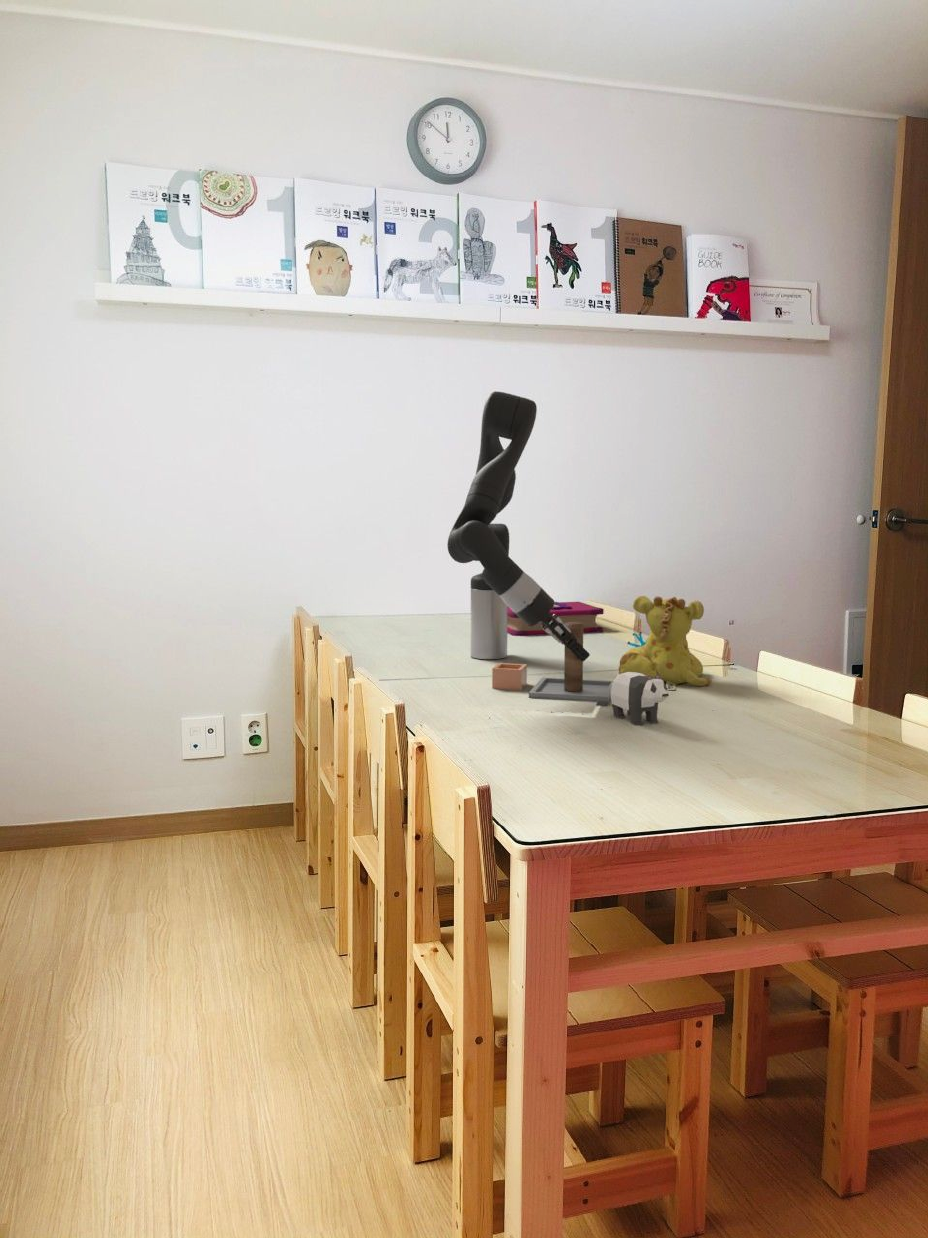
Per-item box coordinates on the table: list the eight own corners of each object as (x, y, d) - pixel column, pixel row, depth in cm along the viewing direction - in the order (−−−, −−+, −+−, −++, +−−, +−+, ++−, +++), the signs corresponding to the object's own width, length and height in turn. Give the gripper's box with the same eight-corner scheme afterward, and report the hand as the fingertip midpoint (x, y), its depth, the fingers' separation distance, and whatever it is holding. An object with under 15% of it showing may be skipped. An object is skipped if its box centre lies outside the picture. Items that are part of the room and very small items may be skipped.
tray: (542, 685, 220) (542, 677, 220) (616, 689, 216) (616, 681, 216) (528, 701, 205) (528, 692, 205) (608, 705, 201) (608, 696, 201)
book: (490, 627, 307) (490, 602, 306) (576, 623, 315) (577, 598, 313) (513, 637, 287) (513, 611, 286) (604, 633, 295) (605, 607, 293)
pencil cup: (498, 685, 220) (498, 663, 219) (526, 687, 218) (526, 664, 217) (492, 691, 214) (492, 668, 213) (521, 693, 212) (521, 669, 212)
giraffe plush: (694, 669, 239) (696, 588, 236) (725, 690, 216) (729, 601, 213) (608, 670, 238) (610, 588, 235) (631, 691, 214) (633, 601, 212)
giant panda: (607, 715, 194) (608, 665, 192) (631, 712, 196) (632, 663, 195) (652, 732, 180) (653, 680, 179) (677, 729, 183) (679, 677, 181)
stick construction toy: (628, 653, 247) (632, 625, 251) (618, 664, 253) (622, 637, 257) (675, 666, 249) (677, 638, 252) (664, 677, 255) (666, 650, 258)
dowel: (565, 687, 213) (566, 621, 211) (583, 688, 212) (584, 622, 210) (562, 691, 209) (563, 624, 207) (581, 692, 208) (582, 625, 206)
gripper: (508, 607, 214) (564, 662, 217) (518, 616, 200) (578, 675, 203) (533, 581, 214) (589, 637, 217) (545, 589, 200) (604, 649, 203)
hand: (583, 655), depth 210 cm, fingers open, 4 cm apart
